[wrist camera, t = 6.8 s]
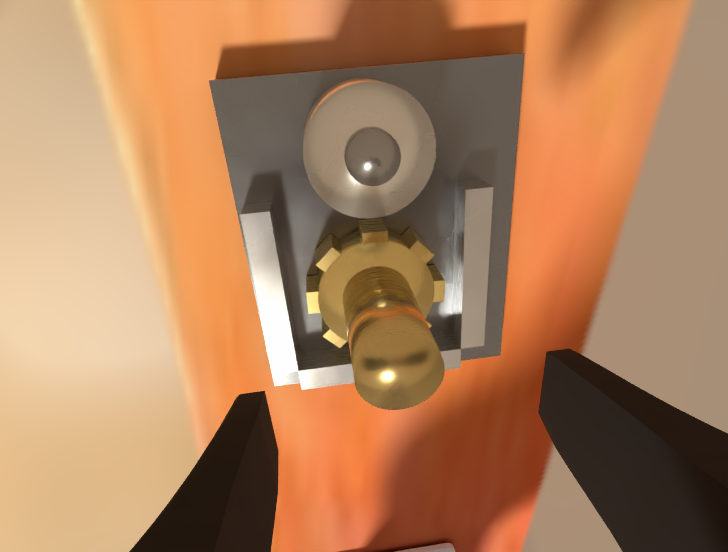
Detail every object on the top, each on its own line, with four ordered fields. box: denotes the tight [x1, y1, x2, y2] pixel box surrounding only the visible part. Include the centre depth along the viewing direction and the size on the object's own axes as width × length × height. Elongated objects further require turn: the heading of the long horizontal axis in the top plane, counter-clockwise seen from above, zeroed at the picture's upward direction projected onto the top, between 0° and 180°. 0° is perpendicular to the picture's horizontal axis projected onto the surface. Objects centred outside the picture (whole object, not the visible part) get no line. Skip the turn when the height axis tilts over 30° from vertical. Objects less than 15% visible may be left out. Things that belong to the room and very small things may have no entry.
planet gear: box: [306, 218, 445, 410], centre depth 15 cm, size 5×5×6 cm
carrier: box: [209, 53, 524, 390], centre depth 16 cm, size 12×10×4 cm
